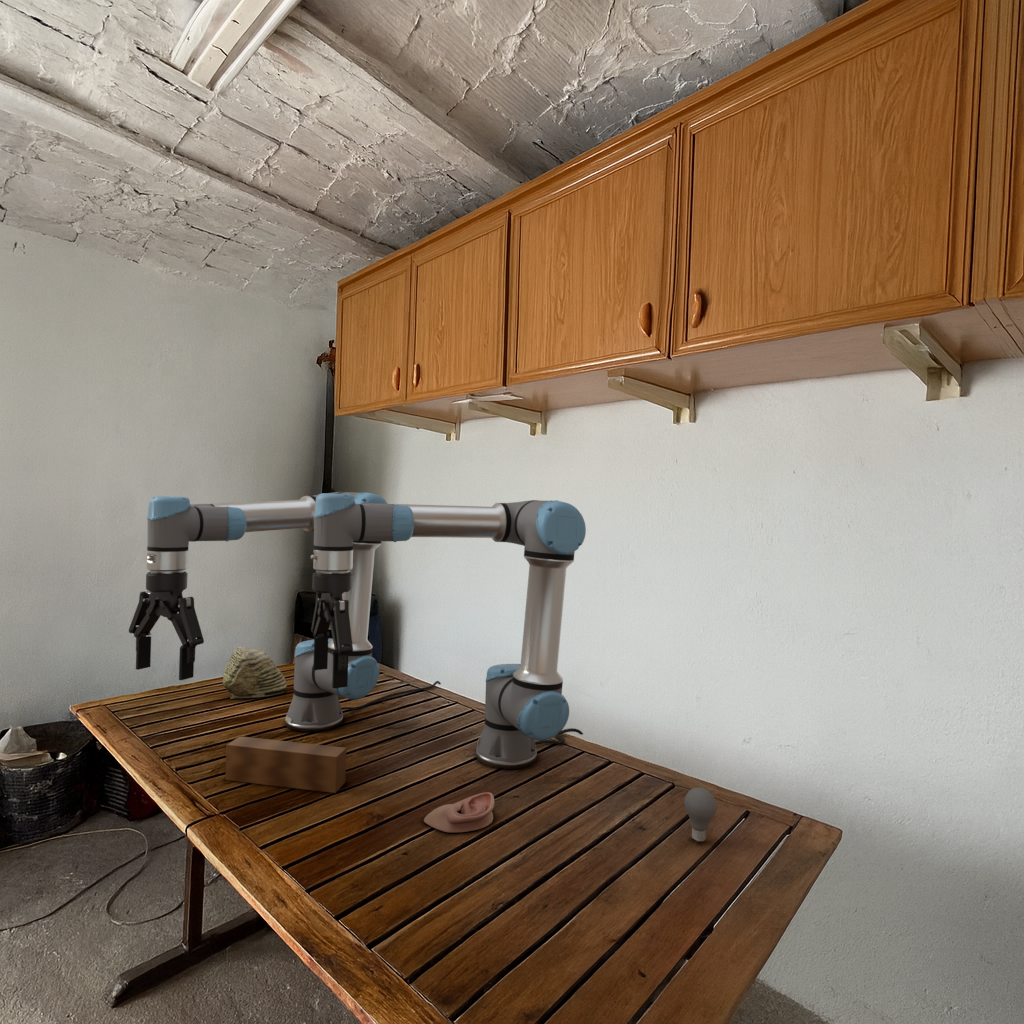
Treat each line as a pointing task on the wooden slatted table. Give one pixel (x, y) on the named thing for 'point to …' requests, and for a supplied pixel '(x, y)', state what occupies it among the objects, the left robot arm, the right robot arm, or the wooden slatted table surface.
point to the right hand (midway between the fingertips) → (329, 677)
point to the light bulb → (700, 811)
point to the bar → (286, 764)
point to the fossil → (252, 674)
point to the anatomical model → (463, 814)
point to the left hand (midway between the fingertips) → (164, 673)
